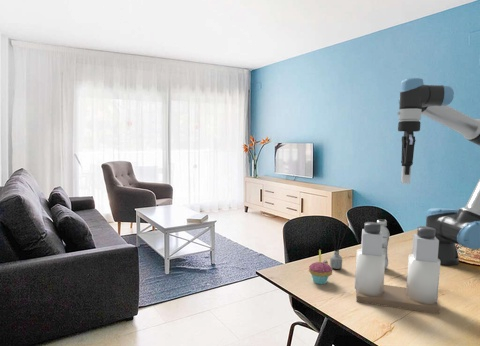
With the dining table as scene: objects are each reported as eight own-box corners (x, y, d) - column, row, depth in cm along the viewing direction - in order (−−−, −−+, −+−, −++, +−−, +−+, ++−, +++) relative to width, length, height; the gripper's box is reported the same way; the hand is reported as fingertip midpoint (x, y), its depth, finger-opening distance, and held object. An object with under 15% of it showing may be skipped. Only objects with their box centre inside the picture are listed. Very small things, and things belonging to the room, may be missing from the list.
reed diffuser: (348, 268, 137) (351, 220, 135) (343, 274, 131) (346, 224, 129) (324, 263, 143) (326, 217, 141) (318, 268, 137) (320, 220, 135)
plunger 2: (431, 255, 109) (433, 227, 108) (435, 260, 105) (437, 231, 104) (414, 253, 111) (416, 225, 110) (417, 258, 106) (419, 229, 105)
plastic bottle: (389, 272, 134) (392, 223, 132) (371, 270, 136) (374, 222, 134) (386, 266, 141) (389, 219, 139) (369, 264, 142) (371, 218, 140)
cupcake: (305, 277, 128) (306, 246, 127) (327, 276, 129) (328, 246, 128) (312, 286, 120) (313, 254, 119) (335, 286, 120) (337, 254, 119)
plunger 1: (378, 249, 114) (380, 222, 113) (379, 254, 109) (381, 226, 108) (362, 248, 115) (364, 221, 115) (363, 252, 111) (365, 224, 110)
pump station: (431, 296, 114) (436, 233, 111) (441, 314, 102) (447, 244, 100) (353, 286, 121) (357, 226, 119) (354, 301, 110) (358, 235, 107)
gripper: (395, 121, 135) (392, 180, 137) (401, 119, 121) (397, 184, 123) (416, 121, 132) (412, 181, 135) (424, 119, 119) (420, 185, 121)
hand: (405, 182), depth 129 cm, fingers closed
